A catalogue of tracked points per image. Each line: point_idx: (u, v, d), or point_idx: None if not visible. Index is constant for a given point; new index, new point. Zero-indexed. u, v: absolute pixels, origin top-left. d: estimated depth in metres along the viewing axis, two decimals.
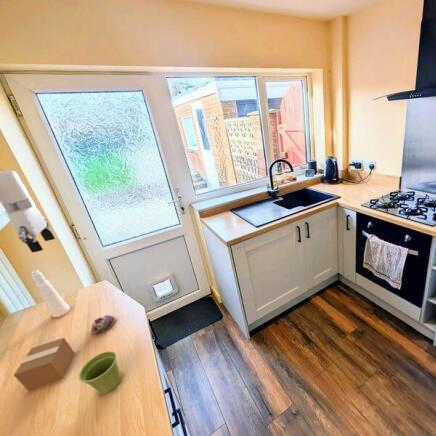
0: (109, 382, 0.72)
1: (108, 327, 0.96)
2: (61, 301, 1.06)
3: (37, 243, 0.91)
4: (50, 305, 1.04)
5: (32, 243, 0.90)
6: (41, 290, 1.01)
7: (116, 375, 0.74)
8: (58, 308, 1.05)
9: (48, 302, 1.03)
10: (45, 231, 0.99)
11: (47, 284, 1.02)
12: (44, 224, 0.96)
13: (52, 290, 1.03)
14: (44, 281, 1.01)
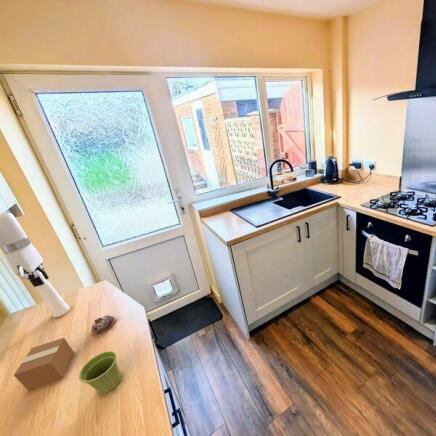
0: (109, 382, 0.72)
1: (108, 327, 0.96)
2: (61, 301, 1.06)
3: (38, 278, 0.99)
4: (50, 305, 1.04)
5: (34, 279, 0.97)
6: (41, 290, 1.01)
7: (116, 375, 0.74)
8: (58, 308, 1.05)
9: (48, 302, 1.03)
10: None
11: (47, 284, 1.02)
12: (40, 260, 1.01)
13: (52, 290, 1.03)
14: (44, 281, 1.01)
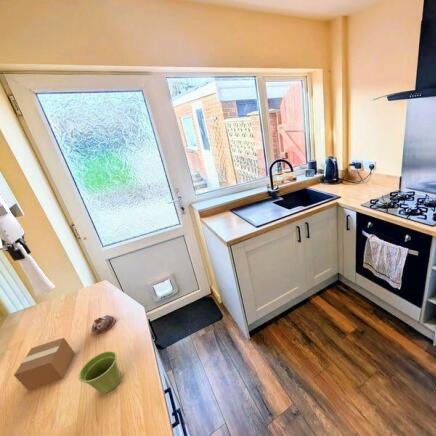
0: (109, 382, 0.72)
1: (108, 327, 0.96)
2: (45, 278, 0.98)
3: (19, 251, 0.90)
4: (32, 282, 0.95)
5: (14, 251, 0.89)
6: (22, 265, 0.93)
7: (116, 375, 0.74)
8: (41, 286, 0.97)
9: (30, 278, 0.95)
10: None
11: (29, 258, 0.94)
12: (21, 232, 0.92)
13: (35, 265, 0.95)
14: (26, 255, 0.93)
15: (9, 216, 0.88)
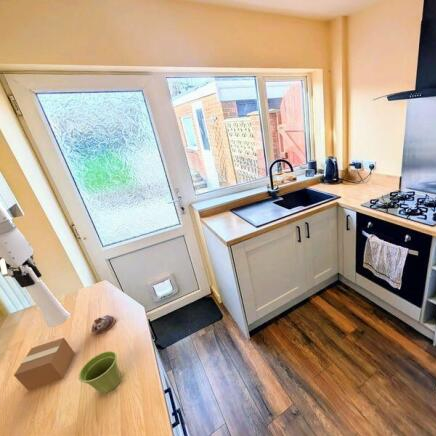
0: (109, 382, 0.72)
1: (108, 327, 0.96)
2: (59, 306, 0.81)
3: (28, 276, 0.73)
4: (44, 312, 0.78)
5: (21, 277, 0.72)
6: (32, 292, 0.75)
7: (116, 375, 0.74)
8: (55, 315, 0.79)
9: (41, 308, 0.77)
10: None
11: (40, 284, 0.76)
12: (29, 251, 0.75)
13: (47, 292, 0.78)
14: (36, 280, 0.75)
15: (15, 233, 0.71)
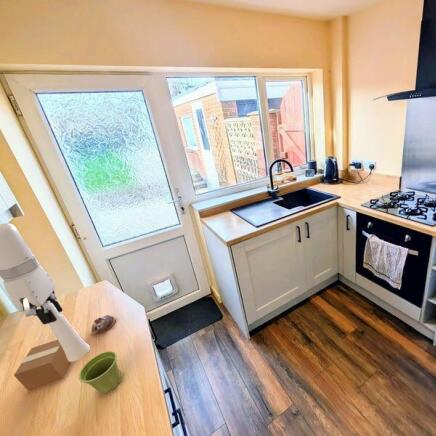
0: (109, 382, 0.72)
1: (108, 327, 0.96)
2: (79, 340, 0.79)
3: (50, 313, 0.71)
4: (65, 347, 0.77)
5: (44, 314, 0.70)
6: (53, 328, 0.74)
7: (116, 375, 0.74)
8: (75, 350, 0.78)
9: (62, 343, 0.76)
10: None
11: (61, 319, 0.75)
12: (51, 287, 0.73)
13: (68, 327, 0.76)
14: (57, 315, 0.74)
15: (38, 270, 0.69)
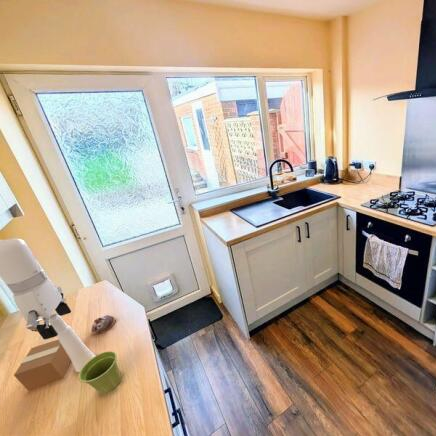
0: (109, 382, 0.72)
1: (108, 327, 0.96)
2: (86, 350, 0.81)
3: (51, 328, 0.70)
4: (72, 357, 0.79)
5: (44, 330, 0.69)
6: (61, 340, 0.76)
7: (116, 375, 0.74)
8: (82, 360, 0.80)
9: (70, 354, 0.78)
10: (59, 305, 0.78)
11: (69, 331, 0.77)
12: (58, 298, 0.75)
13: (75, 338, 0.78)
14: (65, 327, 0.76)
15: (46, 282, 0.71)
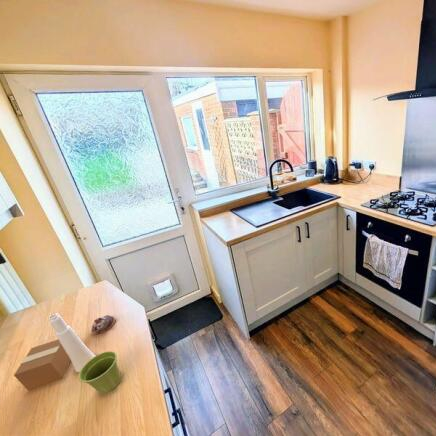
0: (109, 382, 0.72)
1: (108, 327, 0.96)
2: (86, 350, 0.81)
3: None
4: (72, 357, 0.79)
5: None
6: (61, 340, 0.76)
7: (116, 375, 0.74)
8: (82, 360, 0.80)
9: (70, 354, 0.78)
10: None
11: (69, 331, 0.77)
12: None
13: (75, 338, 0.78)
14: (65, 327, 0.76)
15: None
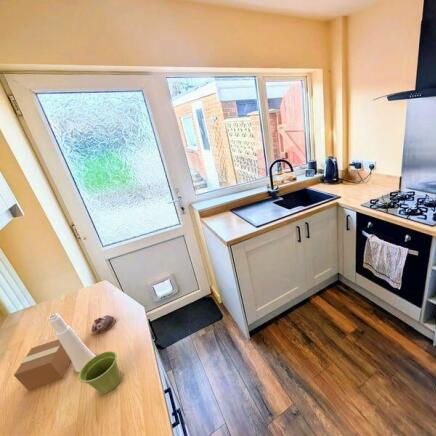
0: (109, 382, 0.72)
1: (108, 327, 0.96)
2: (86, 350, 0.81)
3: None
4: (72, 357, 0.79)
5: None
6: (61, 340, 0.76)
7: (116, 375, 0.74)
8: (82, 360, 0.80)
9: (70, 354, 0.78)
10: None
11: (69, 331, 0.77)
12: None
13: (75, 338, 0.78)
14: (65, 327, 0.76)
15: None
